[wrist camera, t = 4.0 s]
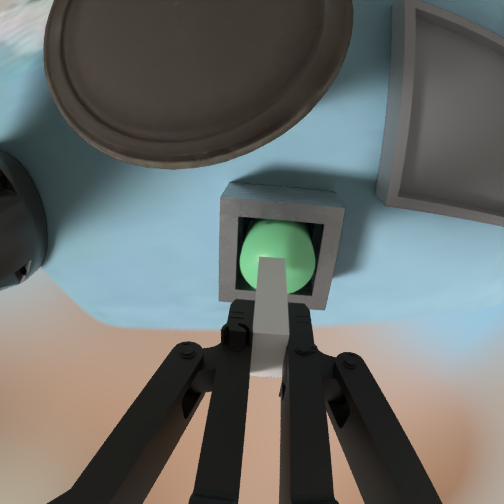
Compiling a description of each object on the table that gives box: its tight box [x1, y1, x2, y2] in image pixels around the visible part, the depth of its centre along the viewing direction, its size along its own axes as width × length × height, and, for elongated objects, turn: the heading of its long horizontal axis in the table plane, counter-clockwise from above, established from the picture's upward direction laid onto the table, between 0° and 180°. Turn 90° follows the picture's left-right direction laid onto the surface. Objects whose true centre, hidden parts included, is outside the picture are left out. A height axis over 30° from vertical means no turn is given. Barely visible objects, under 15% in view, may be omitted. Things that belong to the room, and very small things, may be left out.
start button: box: [240, 218, 315, 294], centre depth 22 cm, size 5×5×4 cm
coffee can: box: [44, 0, 353, 169], centre depth 13 cm, size 10×10×14 cm
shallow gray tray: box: [375, 0, 504, 227], centre depth 18 cm, size 16×16×3 cm
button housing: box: [219, 182, 345, 310], centre depth 23 cm, size 8×8×4 cm
